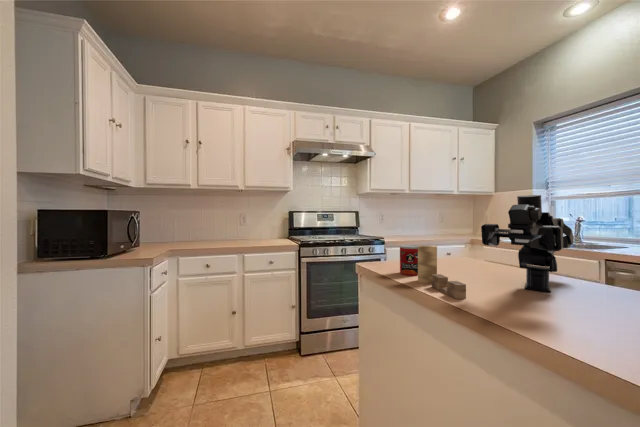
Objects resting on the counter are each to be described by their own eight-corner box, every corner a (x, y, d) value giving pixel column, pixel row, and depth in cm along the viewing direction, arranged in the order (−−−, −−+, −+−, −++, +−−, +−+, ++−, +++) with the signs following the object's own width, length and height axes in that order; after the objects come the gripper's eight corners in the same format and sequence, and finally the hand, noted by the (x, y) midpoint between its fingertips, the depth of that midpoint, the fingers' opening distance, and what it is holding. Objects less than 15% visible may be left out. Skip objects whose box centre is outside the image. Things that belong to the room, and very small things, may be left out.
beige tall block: (436, 281, 100) (436, 245, 100) (436, 283, 97) (436, 246, 97) (417, 280, 102) (418, 245, 102) (418, 282, 99) (418, 246, 99)
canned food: (399, 275, 110) (399, 246, 110) (400, 271, 117) (400, 244, 117) (420, 276, 107) (420, 247, 107) (419, 272, 115) (419, 245, 115)
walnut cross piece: (431, 286, 93) (431, 274, 93) (440, 286, 93) (440, 274, 93) (456, 299, 80) (456, 284, 80) (465, 298, 80) (466, 284, 80)
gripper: (491, 204, 90) (468, 212, 81) (567, 203, 76) (551, 212, 66) (493, 239, 91) (471, 250, 82) (569, 244, 77) (553, 258, 67)
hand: (507, 242), depth 74 cm, fingers open, 9 cm apart
